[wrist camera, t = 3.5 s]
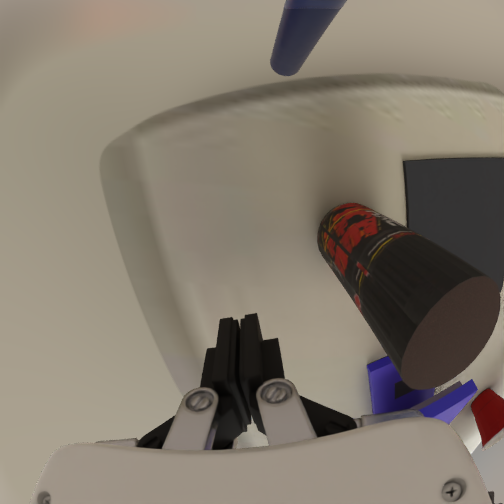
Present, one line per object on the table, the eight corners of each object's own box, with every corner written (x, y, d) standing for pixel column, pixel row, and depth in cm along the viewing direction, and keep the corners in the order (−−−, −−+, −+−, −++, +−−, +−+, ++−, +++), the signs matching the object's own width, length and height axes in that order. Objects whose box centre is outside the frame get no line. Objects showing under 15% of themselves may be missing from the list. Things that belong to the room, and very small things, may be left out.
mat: (402, 161, 21) (404, 161, 20) (509, 157, 20) (512, 158, 19) (401, 329, 27) (402, 331, 26) (499, 290, 26) (501, 291, 25)
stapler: (440, 329, 27) (482, 378, 18) (424, 430, 36) (442, 466, 27) (359, 368, 28) (387, 432, 19) (370, 454, 37) (383, 494, 28)
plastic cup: (452, 418, 36) (474, 458, 25) (485, 380, 33) (514, 419, 21) (475, 414, 37) (496, 447, 26) (504, 378, 34) (529, 411, 23)
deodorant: (378, 199, 22) (511, 263, 8) (379, 262, 24) (479, 366, 10) (314, 206, 22) (414, 293, 8) (319, 273, 24) (389, 404, 10)
